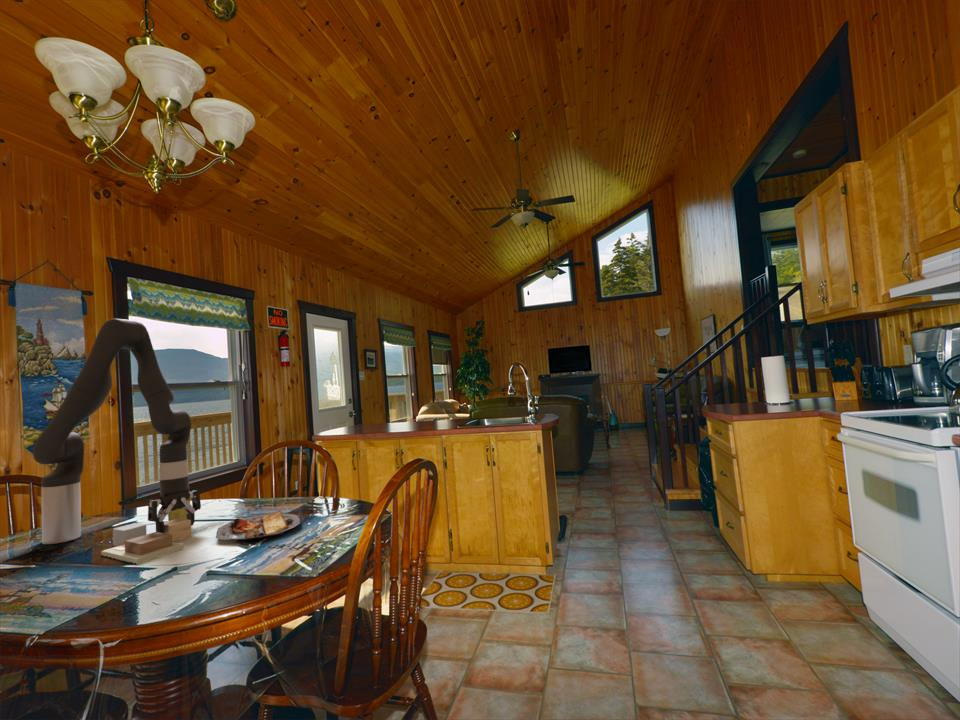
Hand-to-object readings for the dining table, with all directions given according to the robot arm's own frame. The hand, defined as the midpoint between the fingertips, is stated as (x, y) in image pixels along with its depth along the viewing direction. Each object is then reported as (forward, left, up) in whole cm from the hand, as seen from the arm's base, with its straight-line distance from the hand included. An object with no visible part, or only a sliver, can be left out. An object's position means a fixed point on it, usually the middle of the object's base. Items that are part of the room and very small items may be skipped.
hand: (175, 529), depth 144 cm
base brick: (+7, -11, -1) cm, 13 cm away
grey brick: (-9, -8, -3) cm, 13 cm away
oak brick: (0, 0, -3) cm, 3 cm away
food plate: (+20, +14, -3) cm, 24 cm away
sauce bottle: (-10, +7, -3) cm, 13 cm away
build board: (+4, -11, -2) cm, 12 cm away
